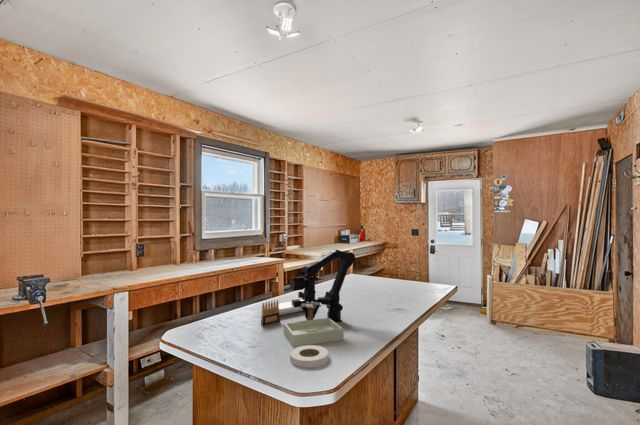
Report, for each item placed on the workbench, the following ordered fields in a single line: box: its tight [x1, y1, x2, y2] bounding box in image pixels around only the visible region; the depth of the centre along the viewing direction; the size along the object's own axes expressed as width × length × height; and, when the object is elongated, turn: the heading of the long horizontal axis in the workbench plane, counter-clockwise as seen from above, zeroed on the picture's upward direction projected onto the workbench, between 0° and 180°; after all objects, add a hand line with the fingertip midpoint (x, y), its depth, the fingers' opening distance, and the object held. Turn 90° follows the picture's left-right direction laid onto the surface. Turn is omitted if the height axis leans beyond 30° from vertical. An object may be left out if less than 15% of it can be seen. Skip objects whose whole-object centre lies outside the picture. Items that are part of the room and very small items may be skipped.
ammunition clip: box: [260, 299, 281, 327], centre depth 172 cm, size 11×2×12 cm, turn 131°
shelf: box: [267, 299, 313, 316], centre depth 192 cm, size 12×30×5 cm, turn 126°
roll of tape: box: [289, 344, 330, 369], centre depth 127 cm, size 16×15×3 cm
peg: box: [306, 307, 314, 321], centre depth 169 cm, size 4×4×8 cm
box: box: [283, 318, 344, 348], centre depth 152 cm, size 24×18×5 cm
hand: (309, 318), depth 169 cm, fingers closed on peg, 4 cm apart
